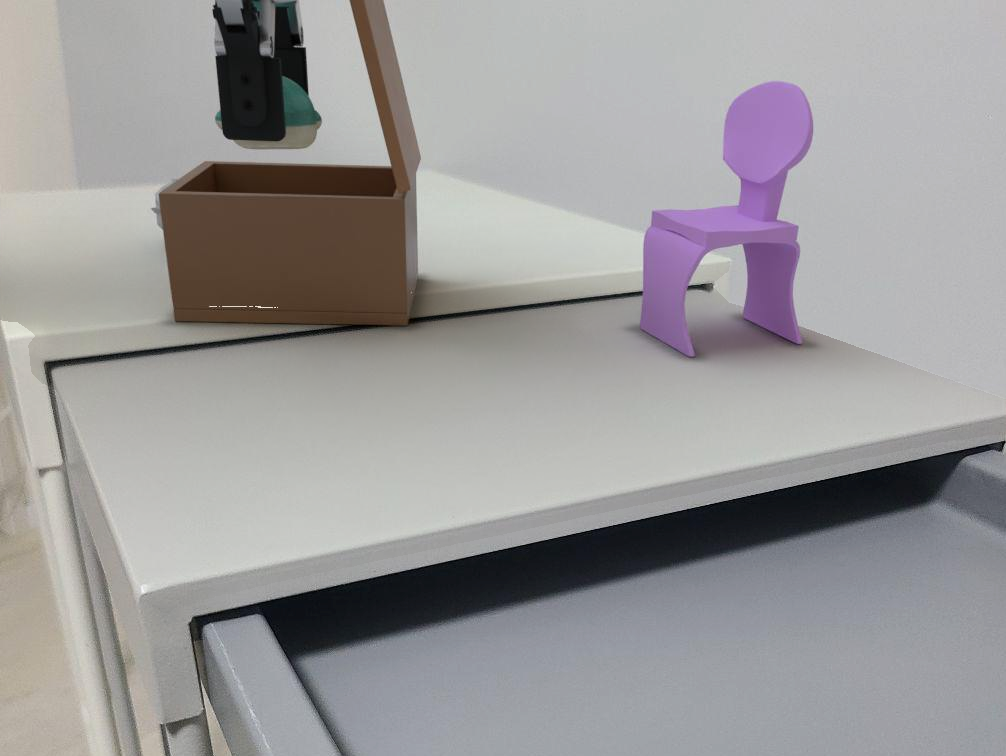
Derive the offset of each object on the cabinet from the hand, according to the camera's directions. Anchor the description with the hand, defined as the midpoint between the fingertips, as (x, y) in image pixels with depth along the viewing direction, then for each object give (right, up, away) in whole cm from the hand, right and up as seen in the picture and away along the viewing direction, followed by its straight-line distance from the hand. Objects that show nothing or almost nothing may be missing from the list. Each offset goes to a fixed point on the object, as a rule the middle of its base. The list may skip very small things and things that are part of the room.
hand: (269, 127), depth 60 cm
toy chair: (+26, -10, +8) cm, 30 cm away
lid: (+5, +7, +6) cm, 11 cm away
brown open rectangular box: (-1, -7, +13) cm, 15 cm away
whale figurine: (0, -1, 0) cm, 1 cm away
